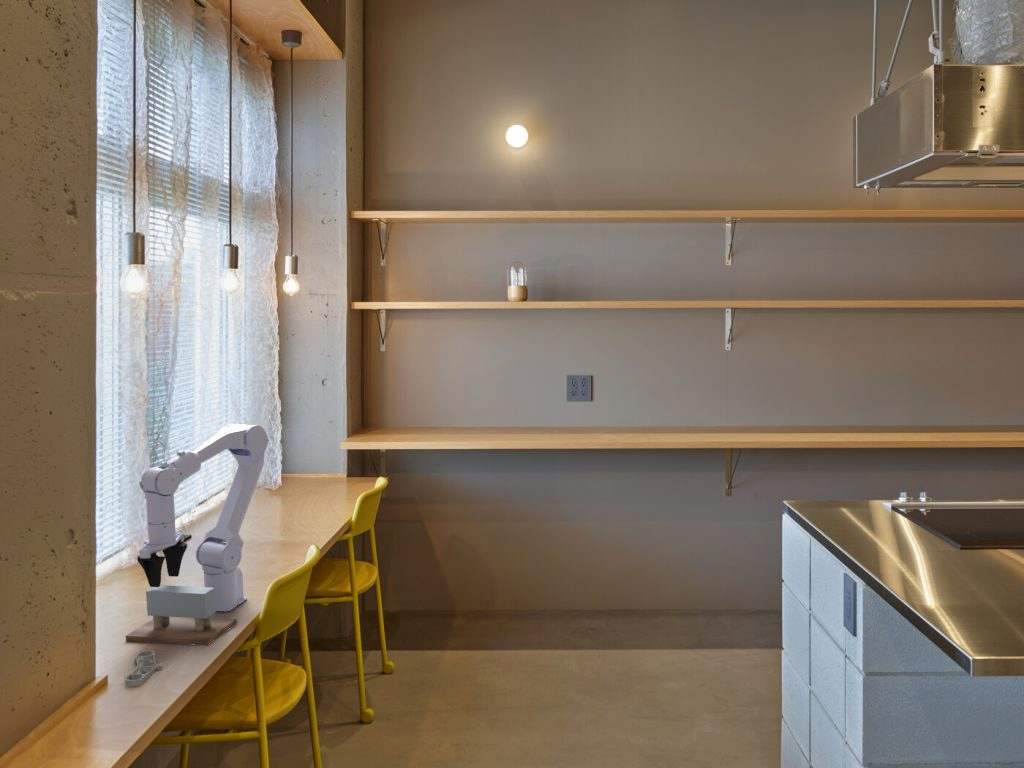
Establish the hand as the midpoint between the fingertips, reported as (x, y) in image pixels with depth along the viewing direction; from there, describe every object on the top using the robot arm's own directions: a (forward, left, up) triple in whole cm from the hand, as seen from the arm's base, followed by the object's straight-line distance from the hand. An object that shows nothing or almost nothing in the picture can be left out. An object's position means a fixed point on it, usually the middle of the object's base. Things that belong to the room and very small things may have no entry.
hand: (164, 581), depth 204 cm
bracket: (+23, +9, -11) cm, 27 cm away
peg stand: (+3, +6, -10) cm, 12 cm away
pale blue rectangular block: (+3, +6, -6) cm, 9 cm away
